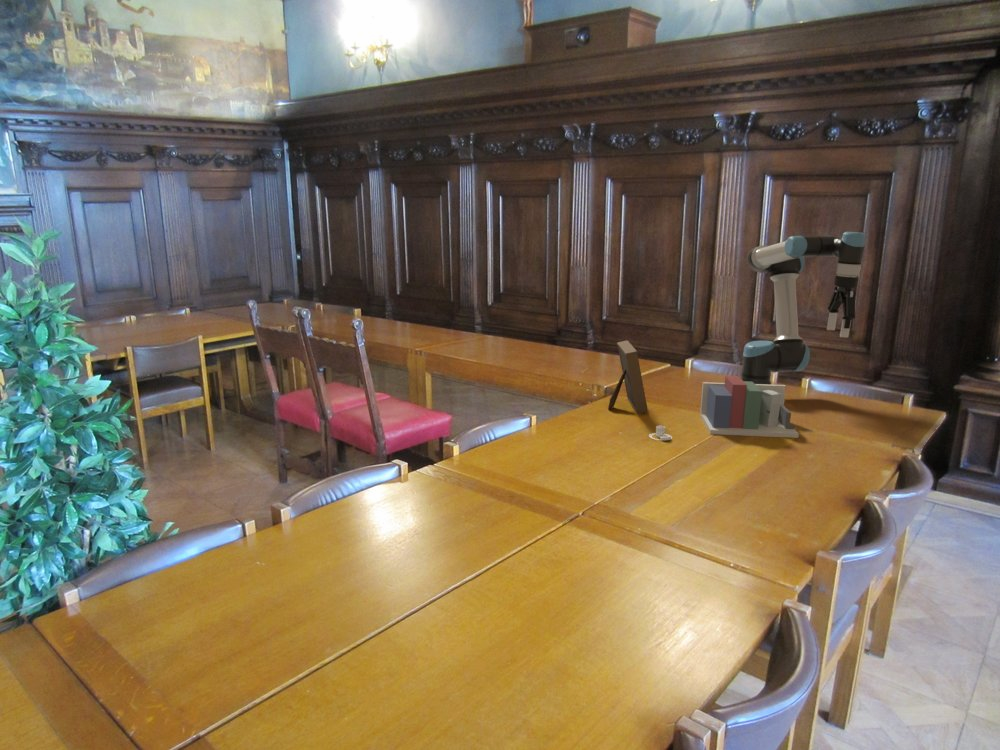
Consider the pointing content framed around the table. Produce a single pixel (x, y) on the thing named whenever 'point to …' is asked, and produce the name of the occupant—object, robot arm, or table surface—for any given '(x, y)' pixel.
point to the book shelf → (748, 431)
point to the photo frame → (630, 378)
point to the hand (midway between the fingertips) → (837, 333)
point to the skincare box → (769, 408)
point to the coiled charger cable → (660, 434)
